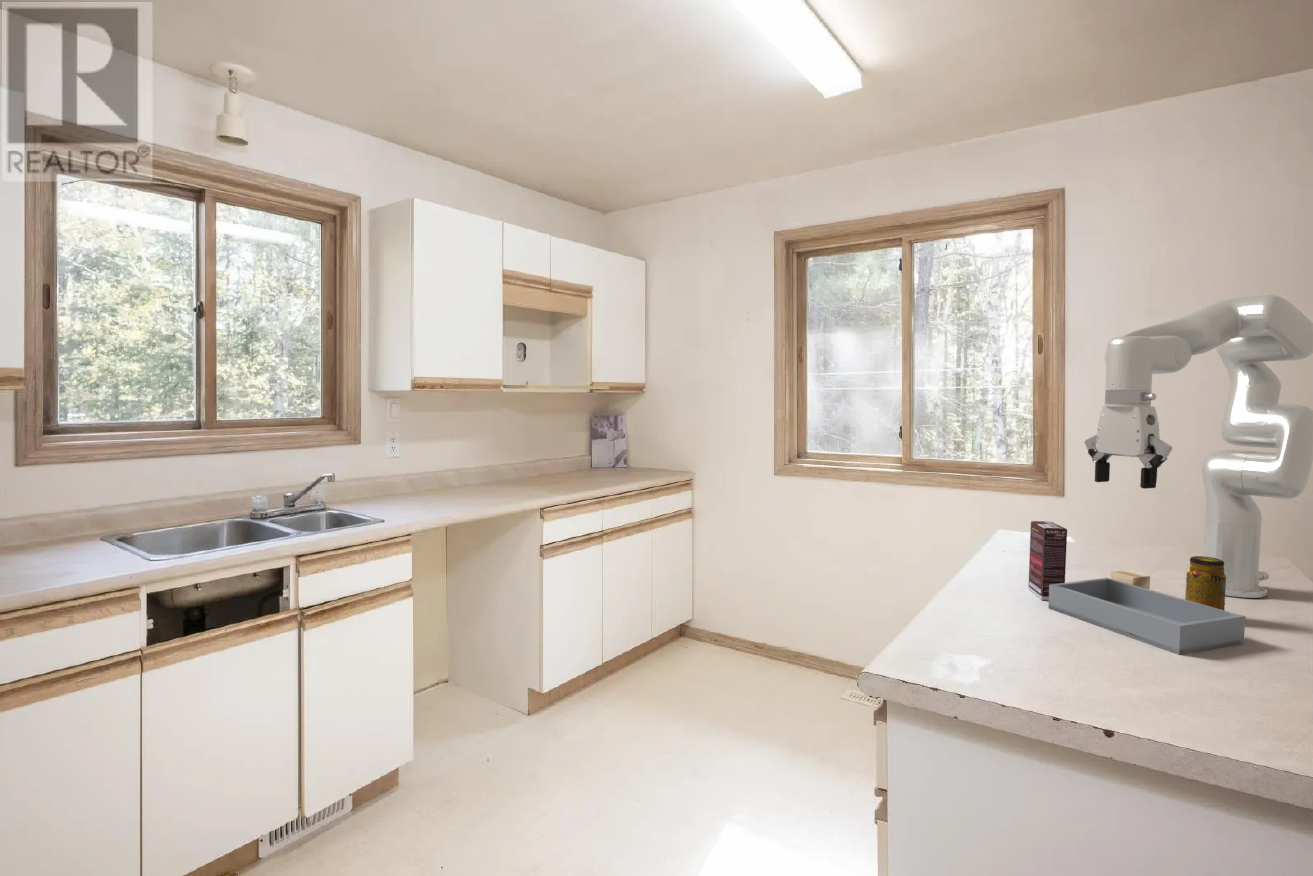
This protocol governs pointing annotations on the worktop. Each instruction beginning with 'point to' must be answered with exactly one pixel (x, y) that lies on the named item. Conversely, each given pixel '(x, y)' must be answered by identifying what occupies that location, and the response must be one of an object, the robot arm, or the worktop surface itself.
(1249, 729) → the worktop surface
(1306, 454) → the robot arm
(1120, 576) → the cube
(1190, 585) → the condiment
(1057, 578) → the supplement box
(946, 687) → the worktop surface
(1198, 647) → the tote
